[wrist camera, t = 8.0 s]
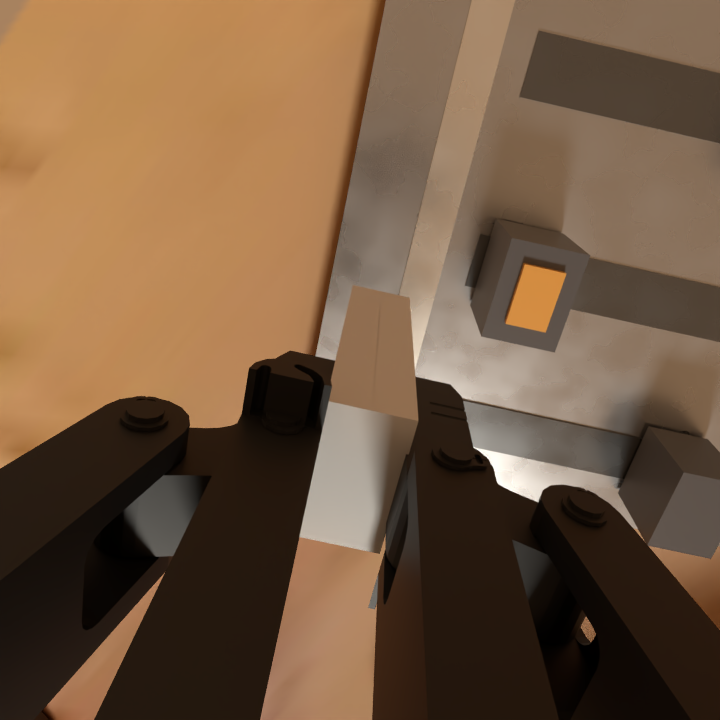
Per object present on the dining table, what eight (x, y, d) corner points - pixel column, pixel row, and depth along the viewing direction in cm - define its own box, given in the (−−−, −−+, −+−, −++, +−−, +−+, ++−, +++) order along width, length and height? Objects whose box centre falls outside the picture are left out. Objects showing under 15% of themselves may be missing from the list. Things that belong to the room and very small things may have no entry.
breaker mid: (470, 305, 28) (482, 338, 24) (495, 218, 26) (513, 239, 22) (534, 319, 28) (556, 355, 24) (563, 233, 26) (592, 257, 23)
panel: (301, 437, 34) (295, 458, 32) (403, -78, 24) (404, -93, 22) (754, 533, 35) (775, 559, 33) (1024, 71, 25) (1077, 69, 23)
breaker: (617, 493, 31) (647, 545, 28) (648, 426, 30) (683, 472, 26) (674, 504, 32) (710, 558, 28) (707, 439, 30) (751, 486, 26)
